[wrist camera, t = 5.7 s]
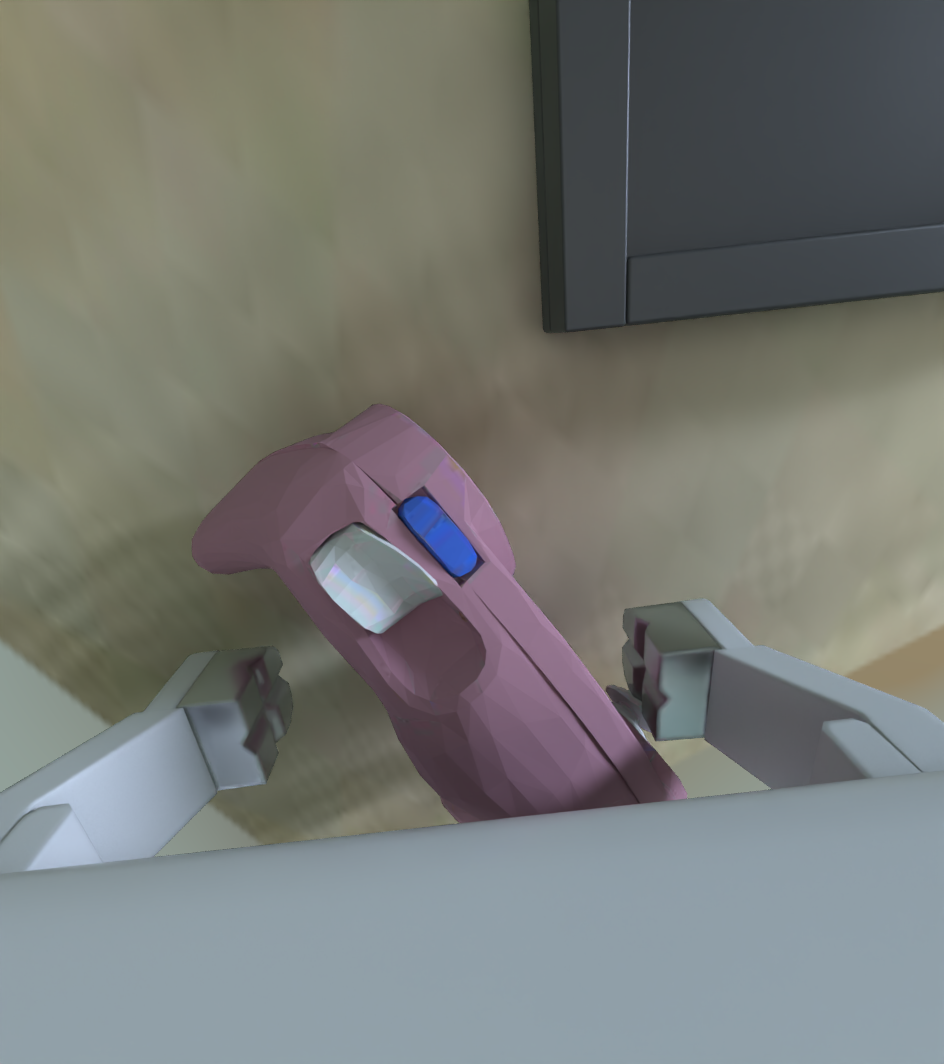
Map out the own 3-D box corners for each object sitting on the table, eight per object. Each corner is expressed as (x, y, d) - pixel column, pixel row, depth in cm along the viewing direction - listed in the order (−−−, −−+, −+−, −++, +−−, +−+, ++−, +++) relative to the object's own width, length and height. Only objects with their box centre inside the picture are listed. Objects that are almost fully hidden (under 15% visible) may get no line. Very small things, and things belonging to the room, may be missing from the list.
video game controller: (558, 679, 15) (790, 830, 8) (446, 798, 14) (617, 1078, 7) (345, 400, 11) (461, 303, 5) (175, 526, 10) (51, 601, 4)
